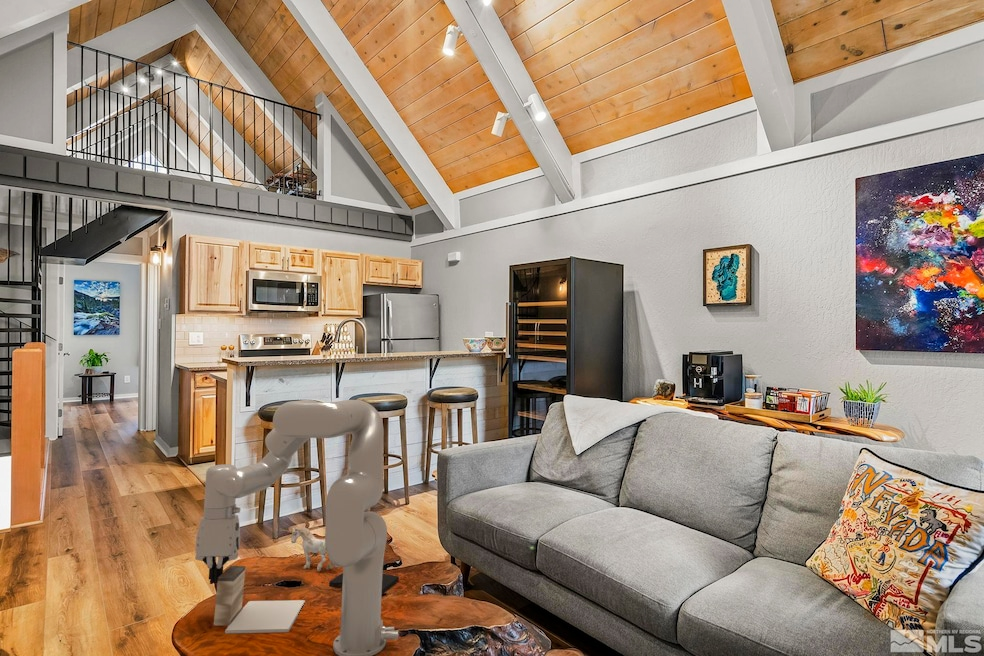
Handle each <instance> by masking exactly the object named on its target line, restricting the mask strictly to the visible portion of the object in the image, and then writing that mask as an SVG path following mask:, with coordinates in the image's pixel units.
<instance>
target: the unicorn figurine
mask: <svg viewBox="0 0 984 656" xmlns="http://www.w3.org/2000/svg"><path fill="white" fill-rule="evenodd" d="M280 531H281V532H285V533H289V534H291V540H290V542H291V543H292V544H295V543H297V540H298V538H300V537H301V539H302V546H301V547H302V549H303V552H304V557H305V560H306V562H305V564H304V565H303V567H302V569H303V570H306V569H310V566H311V565H312V558H311V557H310V555H309V554H310V553H313V554H318V553H319V555H320V558H321V561H320V562H319V563H318V564H317V566H316V572H317V573H319V572H321V570H322V568H323V567H324V566H323V565H324V563H325V562H326V561H327V558H326V555H327V551H326V546H325V538H324V539H321V538H317V537H315V536H314V534H313V533H312V531H311V530H310V529H308V528H306V527H305V526H302V525H301V526H295V527H292V530H287V529H280ZM328 560H329V561H328V565H327V566H326V567H325V570H326V571H329V570H330V569H331V570H333V568H336V569H337V568H339V566H337V565H335V564H334V563H333V562H332V561H331V560H330V559H329V558H328ZM310 564H311V565H310Z"/></svg>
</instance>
